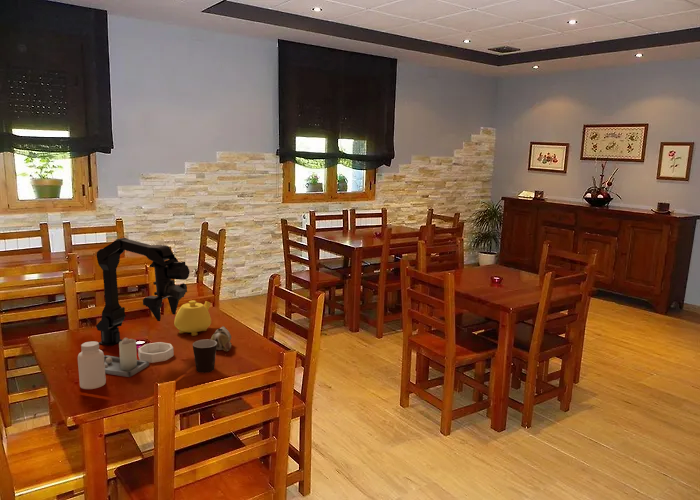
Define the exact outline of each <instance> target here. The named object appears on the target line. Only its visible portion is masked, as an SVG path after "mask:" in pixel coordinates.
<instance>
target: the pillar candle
mask: <svg viewBox="0 0 700 500" xmlns="http://www.w3.org/2000/svg"><path fill="white" fill-rule="evenodd" d="M118 348H119V349H118V350H119V357H120V371H126V372H130V371H131V370H133V369H135V368H136V367H137V360H138V357H137V355H138V351H137V340H136V339H134V338H128V337H124V338H123V339H122V341H120V342H118Z"/></svg>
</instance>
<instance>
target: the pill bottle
mask: <svg viewBox="0 0 700 500" xmlns="http://www.w3.org/2000/svg"><path fill="white" fill-rule="evenodd" d="M80 347H81V348H80V349H81V352H79V353H78V355H77V366H78V367H77V368H78V369H77V370H78V379H79V380H78V381H79V387H80V388H81V389H83V390H93V389H98V388H101V387H103V386H104V385H106V382H107V377H106V373H105V363H104V355H105V354H104V351H103V350H101V349H100V344H99V342H98V341H96V340H95V341H94V340H93V341H86V342H83V343H82V344H80Z"/></svg>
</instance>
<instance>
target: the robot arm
mask: <svg viewBox="0 0 700 500" xmlns="http://www.w3.org/2000/svg"><path fill="white" fill-rule="evenodd" d="M125 251H127V252H131V253H134V254H138V255H141V256H145V257H146V259H148V260H150V261H152V262H151V263H150V264H149V265H148V266H149V268H154V279H155V281H153V282H152V285H153V286H155V288H156V291H155V292H154V293H153V294H154V295H149V296H146V297H144V298H143V299H142V305H143V306H145V307H147V308H148V309H149V310H150V312H151V313H152V315H153V317H154V318H155V319H156V321H157V322H160V321H161V312H162V311H161V308H162V307H163V306H164V304H163V300H165V299H167V301H168V303H169V307H170V311H171V313H172V315H175V316H176V314H177V309H178V305H179V302H180V300H181V299H182V298H184V297H185V295H186V293H188V287H187V283H184V282H182V283H180V284H175V280H184V281H185V280H187V279H188V278H189V276H190V273H191V272H190V271H191V270H190V268H189V266H188V265H187V264H186V261H179V260H178V258H177V257H176V256H175V254H174V253H173V251H172V250H171V247H170V246H168V245H167V244H148V243H144V242H141V241H137V240H132V239H128V238H127V237H120V238H116V239H115V240H113V242H111V243H109V244H108V245H106V246H104V247H103V248H100V249H98V250H97V251H96V260H97V265H98V266H99V267H100V269H101V270H102V278H103V289H104V290H103V291H104V303H105V305H104V307H103V310H102V312H101V319H100V320H99V322H98V323H97V324H96V325H95V327H96V330H97V331H99V332H100V341H99V342H98V343H99V345H105V346H114V345H116V344H119V342H120V341H122V340H123V339H122V338H121V332H120V328H119V327H121V326H123V322H124V321H125V318H126V317H127V316H126V308H125V306H124V307H122V305H120V303H119V291H118V290H119V289H118V288H119V287H118V276H117V268H118V265H119V263H120V261H121V255H122V254H123V253H124V252H125Z"/></svg>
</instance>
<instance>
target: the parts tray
mask: <svg viewBox="0 0 700 500" xmlns="http://www.w3.org/2000/svg"><path fill="white" fill-rule="evenodd" d="M104 363H105V375H106V374H108V375H113V376H119V377H125V378H131V377H132V376H134V375H136V374H137V373H139V372H141V371H142V370H144V369H145V368H148V367H149V366H150V362H148V361H141V360H140V359H137V367H136V368H135V369H133V370H131V371H130V372H126V371H120V356H113V355H107V354H106V355H105V354H104Z"/></svg>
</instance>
